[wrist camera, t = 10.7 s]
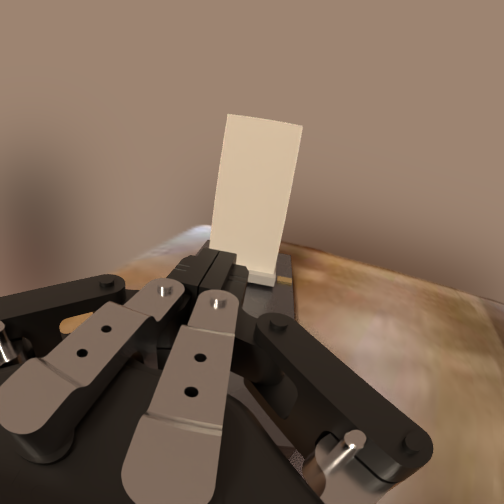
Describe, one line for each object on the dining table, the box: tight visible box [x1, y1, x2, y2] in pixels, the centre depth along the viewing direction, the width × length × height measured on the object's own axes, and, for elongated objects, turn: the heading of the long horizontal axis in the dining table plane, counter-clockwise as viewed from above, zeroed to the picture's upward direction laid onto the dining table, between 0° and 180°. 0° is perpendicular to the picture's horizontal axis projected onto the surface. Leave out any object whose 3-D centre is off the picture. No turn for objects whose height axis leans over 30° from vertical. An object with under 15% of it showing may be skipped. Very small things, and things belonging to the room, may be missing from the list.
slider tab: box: [209, 114, 303, 287], centre depth 23 cm, size 4×6×14 cm, turn 84°
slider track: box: [196, 240, 296, 459], centre depth 22 cm, size 24×10×2 cm, turn 174°
